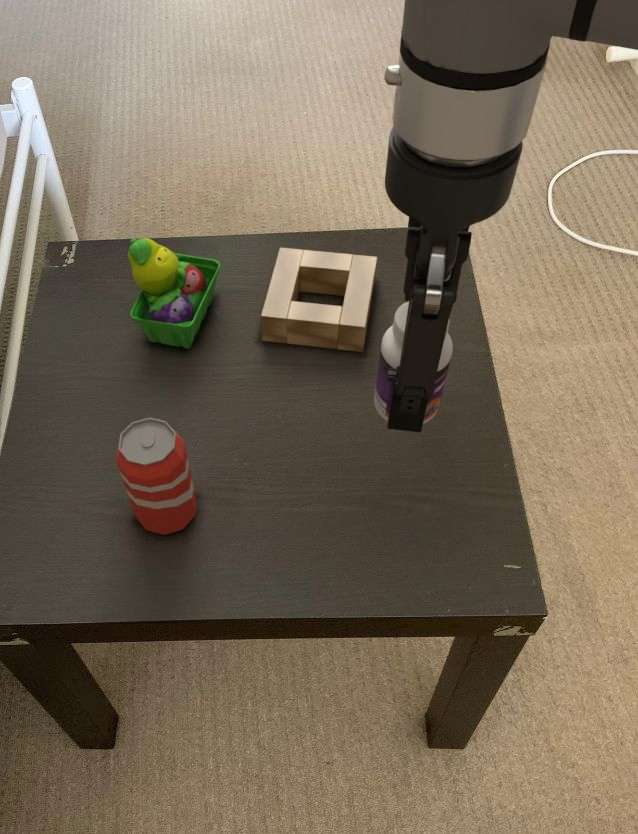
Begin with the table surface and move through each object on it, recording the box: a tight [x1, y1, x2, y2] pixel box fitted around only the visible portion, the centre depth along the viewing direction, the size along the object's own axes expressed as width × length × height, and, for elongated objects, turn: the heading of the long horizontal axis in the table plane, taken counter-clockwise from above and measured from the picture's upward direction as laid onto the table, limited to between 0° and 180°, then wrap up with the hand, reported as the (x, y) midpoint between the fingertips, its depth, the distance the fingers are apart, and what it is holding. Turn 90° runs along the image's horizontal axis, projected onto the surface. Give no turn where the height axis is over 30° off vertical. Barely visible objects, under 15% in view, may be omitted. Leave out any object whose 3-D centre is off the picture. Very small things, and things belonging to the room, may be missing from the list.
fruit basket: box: [127, 237, 221, 349], centre depth 87 cm, size 11×9×11 cm
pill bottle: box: [373, 301, 454, 425], centre depth 59 cm, size 5×5×10 cm
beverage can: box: [115, 417, 197, 536], centre depth 72 cm, size 6×6×12 cm
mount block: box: [260, 247, 378, 353], centre depth 90 cm, size 12×12×4 cm
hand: (407, 397), depth 62 cm, fingers closed on pill bottle, 5 cm apart
